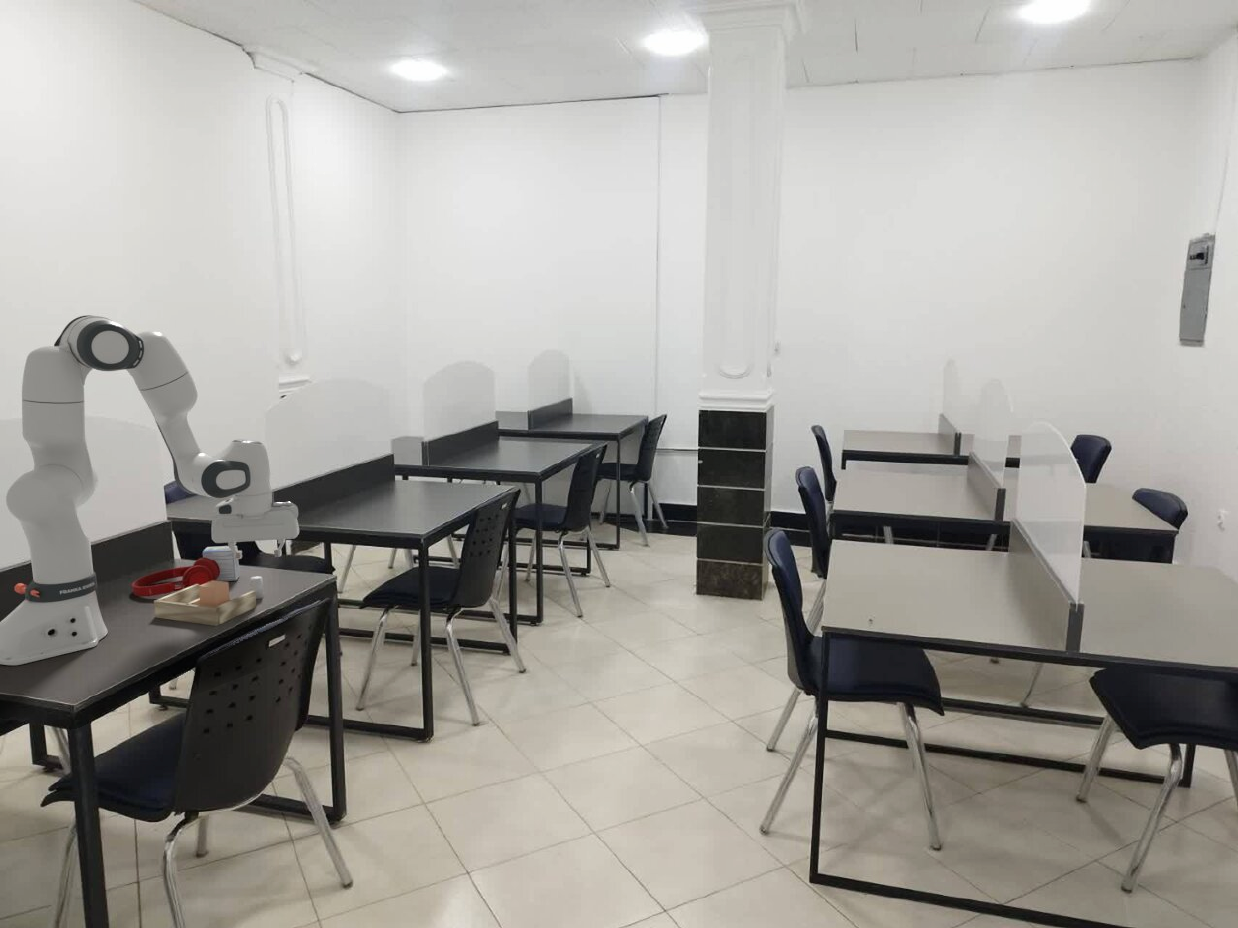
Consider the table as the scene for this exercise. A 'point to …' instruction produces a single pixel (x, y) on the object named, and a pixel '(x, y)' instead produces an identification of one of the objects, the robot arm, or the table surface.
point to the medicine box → (224, 562)
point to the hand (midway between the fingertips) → (258, 557)
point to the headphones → (192, 575)
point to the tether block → (224, 591)
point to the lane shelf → (201, 607)
